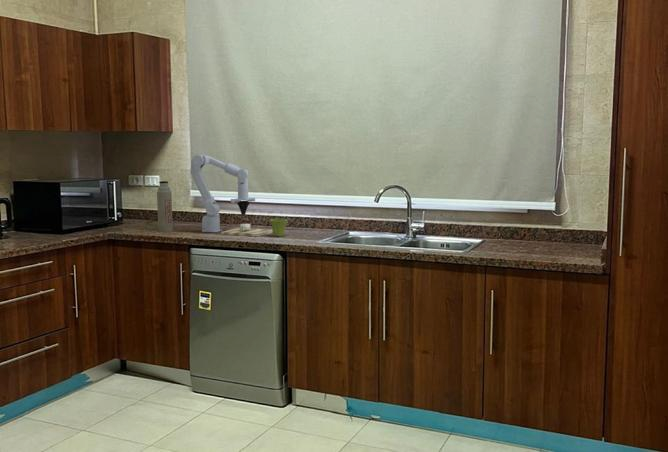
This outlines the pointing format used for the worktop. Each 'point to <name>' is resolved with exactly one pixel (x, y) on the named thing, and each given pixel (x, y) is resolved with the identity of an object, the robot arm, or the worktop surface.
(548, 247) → the worktop surface
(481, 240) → the worktop surface
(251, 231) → the birch board
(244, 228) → the cream cap
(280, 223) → the plant pot
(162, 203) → the thermos bottle
